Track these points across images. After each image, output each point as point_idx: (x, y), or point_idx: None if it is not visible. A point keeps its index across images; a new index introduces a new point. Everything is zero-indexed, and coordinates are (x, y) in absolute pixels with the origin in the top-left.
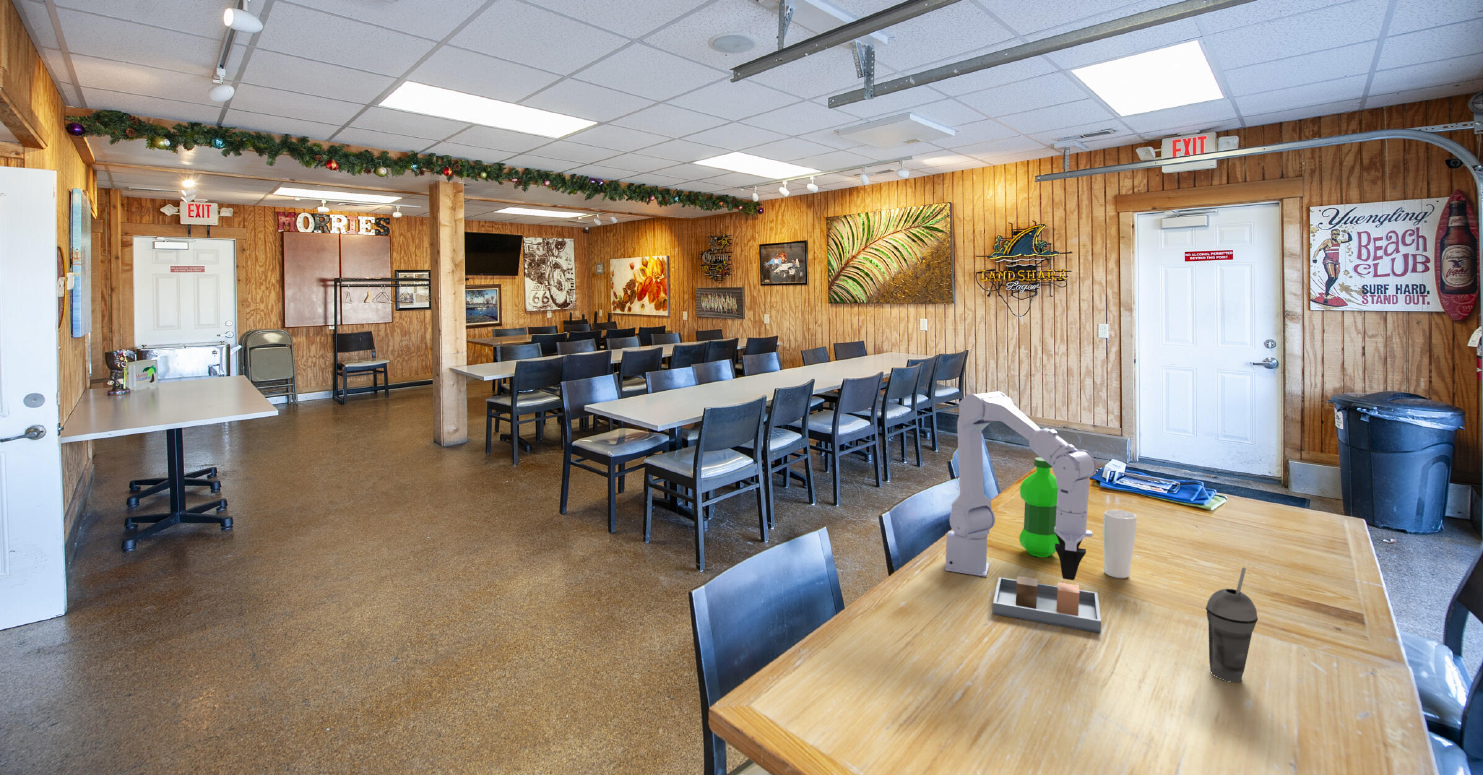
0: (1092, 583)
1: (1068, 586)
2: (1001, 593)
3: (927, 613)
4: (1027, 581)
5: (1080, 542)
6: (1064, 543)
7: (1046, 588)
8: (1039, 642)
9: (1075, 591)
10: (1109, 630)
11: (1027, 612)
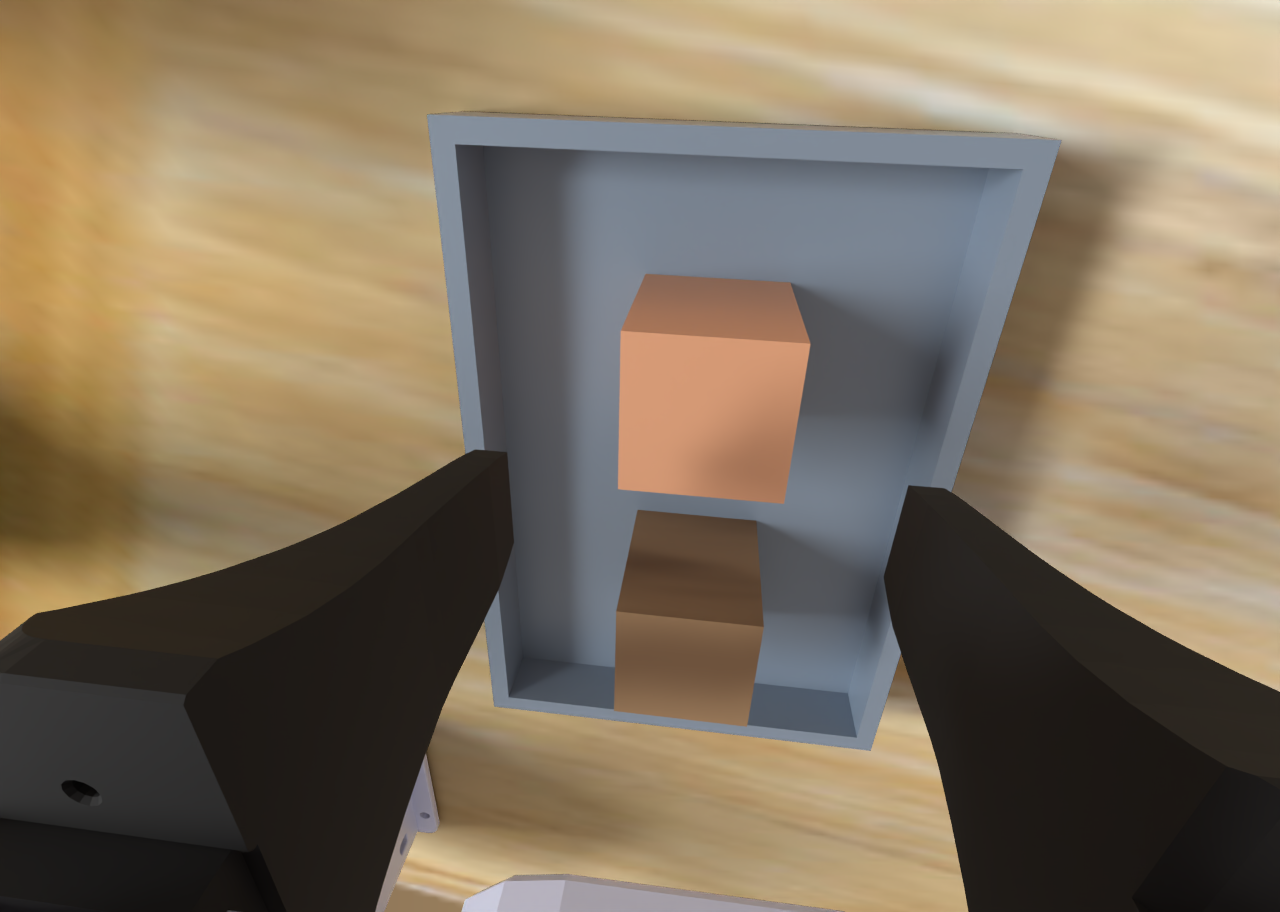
0: (90, 111)
1: (679, 419)
2: (610, 659)
3: (916, 886)
4: (689, 670)
5: (321, 608)
6: (402, 750)
7: None
8: (1189, 523)
9: (779, 373)
10: (948, 49)
11: None
